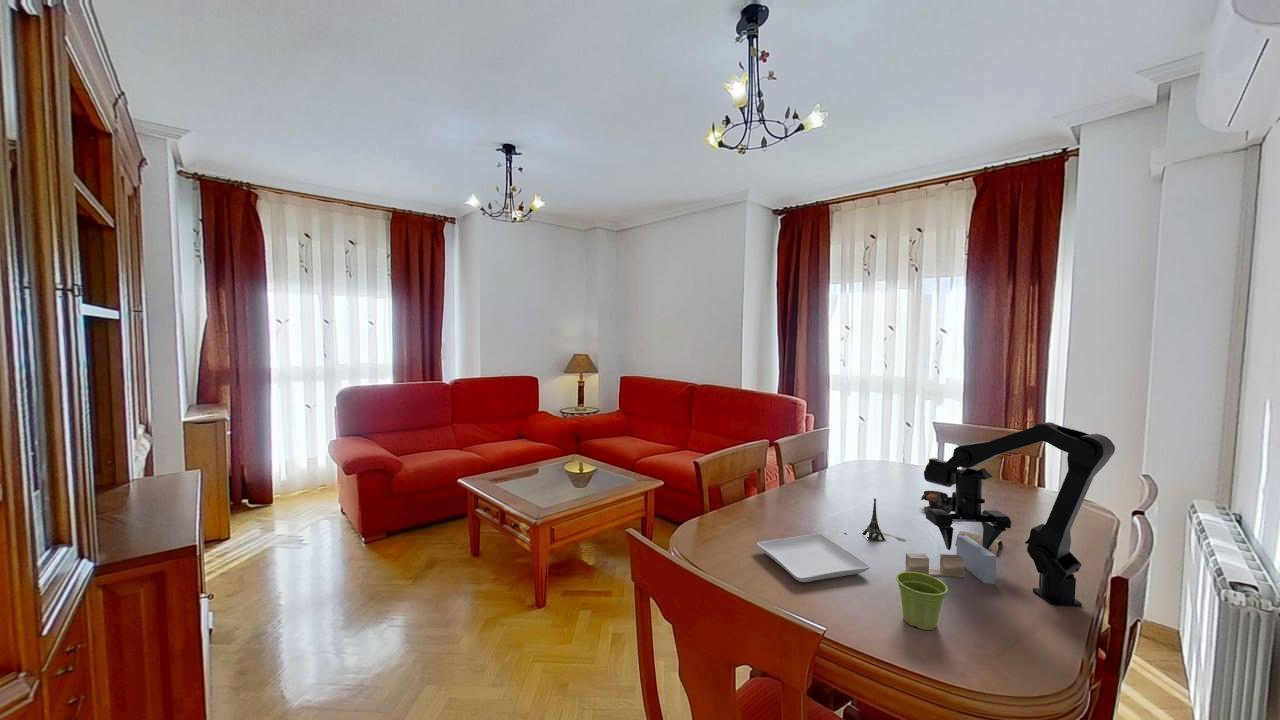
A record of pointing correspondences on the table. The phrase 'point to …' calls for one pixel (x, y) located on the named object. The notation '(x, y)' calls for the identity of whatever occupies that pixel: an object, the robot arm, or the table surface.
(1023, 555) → the table surface
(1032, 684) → the table surface
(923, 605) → the plant pot
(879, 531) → the eiffel tower figurine
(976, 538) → the clay tablet
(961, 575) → the maple rail
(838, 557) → the salad plate
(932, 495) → the pottery mug
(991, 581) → the pale blue plank
